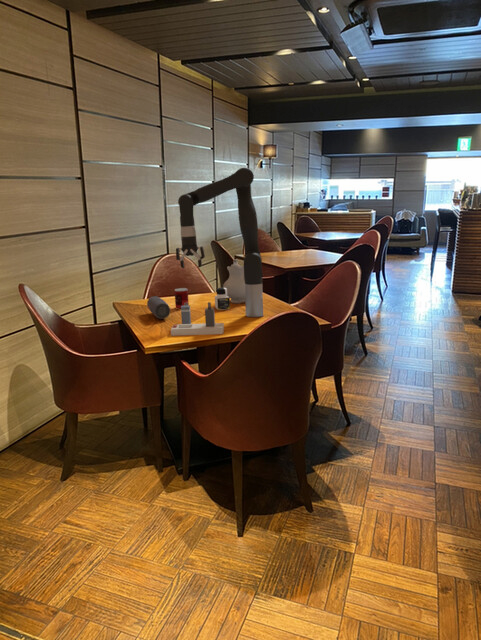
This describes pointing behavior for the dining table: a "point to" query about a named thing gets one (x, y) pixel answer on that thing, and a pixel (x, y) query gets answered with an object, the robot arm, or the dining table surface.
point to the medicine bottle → (222, 299)
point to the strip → (200, 326)
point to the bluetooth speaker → (158, 307)
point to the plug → (185, 314)
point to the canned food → (181, 297)
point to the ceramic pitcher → (235, 283)
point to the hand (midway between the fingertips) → (191, 267)
